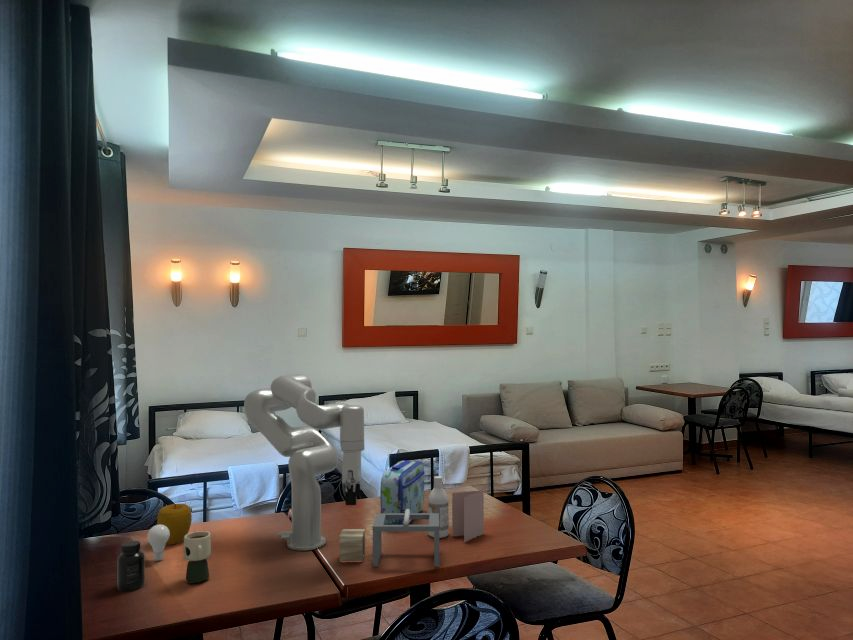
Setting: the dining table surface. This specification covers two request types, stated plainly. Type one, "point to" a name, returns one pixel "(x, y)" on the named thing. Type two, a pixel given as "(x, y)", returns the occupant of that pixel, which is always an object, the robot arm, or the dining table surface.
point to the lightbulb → (158, 540)
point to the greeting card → (468, 514)
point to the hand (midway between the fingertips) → (353, 500)
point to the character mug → (197, 555)
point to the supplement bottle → (130, 567)
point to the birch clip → (352, 544)
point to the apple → (175, 521)
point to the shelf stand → (380, 527)
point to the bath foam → (439, 507)
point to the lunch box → (402, 489)
